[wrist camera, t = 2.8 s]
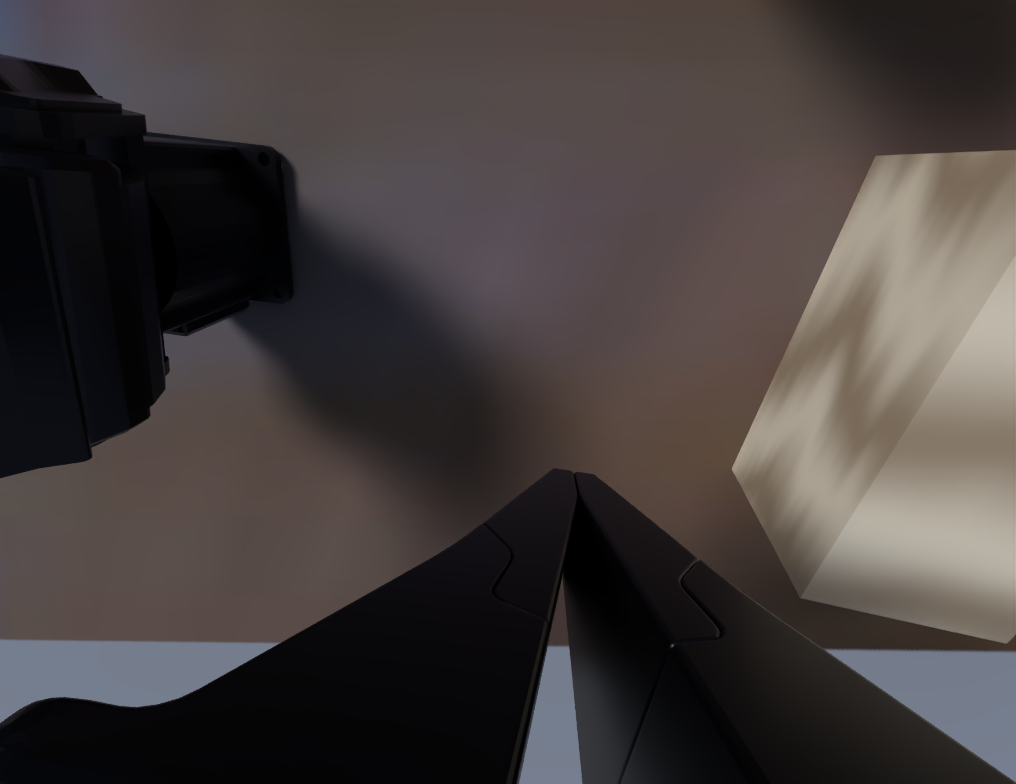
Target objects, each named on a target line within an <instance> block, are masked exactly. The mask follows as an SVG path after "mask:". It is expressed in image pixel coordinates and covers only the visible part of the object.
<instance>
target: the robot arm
mask: <svg viewBox="0 0 1016 784" xmlns="http://www.w3.org/2000/svg"><path fill="white" fill-rule="evenodd" d="M265 153H266V154H267V155H268V156H269V159H270V162H269V164H268V165H266V163H265V162H264V159H263V157H264V154H265ZM278 288H280V289H281V290H282V291H283V293H284V294H283V296H281V295H280V294H279V293H278ZM292 297H293V284H292V274H291V263H290V252H289V242H288V231H287V221H286V210H285V199H284V189H283V178H282V168H281V159H280V156H279V154H278V152H277V151H276V150H275V149H274V148H272V147H270V146H264V145H256V144H247V143H238V142H230V141H221V140H212V139H203V138H195V137H186V136H177V135H169V134H160V133H151V132H147V129H146V119H145V115H143V114H140V113H136V112H132V111H128V110H124V109H122V104H120V103H117V102H114V101H110V100H107V99H104V98H103V97H102V96H99V95H97V93H96V92H95V91H94V90H93V88H92V87H91V86H90V85H89V83H88V82H87V81H86V80H85V78H84V77H83V76H82V75H81V73H80V72H79V71H78V70H74V69H70V68H66V67H62V66H58V65H53V64H48V63H43V62H38V61H33V60H28V59H23V58H18V57H13V56H8V55H2V54H0V478H3V477H7V476H11V475H15V474H19V473H22V472H26V471H30V470H34V469H38V468H45V467H51V466H58V465H65V464H71V463H78V462H84V461H87V460H89V459H91V458H92V456H93V455H92V450H91V447H93V446H96V445H98V444H100V443H102V442H104V441H106V440H107V439H110V438H112V437H115V436H117V435H120V434H123V433H125V432H127V431H129V430H130V429H132V428H134V427H135V426H137V425H139V424H140V423H142V422H143V421H145V420H146V419H148V418H149V417H150V416H151V415H150V407H151V406H152V405H153V404H154V403H155V402H156V401H157V399H158V398H159V397H160V395H161V394H162V393H163V392H164V390H165V376H166V375H167V374H168V373H169V371H170V367H169V358H168V357H167V356H165V349H164V339H163V333H166V334H173V335H180V336H188V335H190V334H193V333H195V332H197V331H200V330H202V329H204V328H206V327H209V326H211V325H213V324H216V323H218V322H220V321H222V320H225V319H227V318H229V317H232V316H234V315H236V314H238V313H241V312H243V311H245V310H246V309H247V308H248V307H249V300H257V301H264V302H271V303H279V304H281V303H285V302H287V301H289V300H291V298H292ZM248 299H249V300H248ZM562 575H563V584H564V596H565V606H566V617H567V627H568V638H569V648H570V658H571V669H572V678H573V689H574V700H575V710H576V720H577V731H578V741H579V751H580V761H581V772H582V782H583V784H1016V782H1014V781H1013V780H1011V779H1010V778H1009V777H1007V776H1005V775H1004V774H1002V773H1001V772H1000V771H998V770H997V769H996V768H994V767H993V766H991V765H989V764H988V763H987V762H985V761H984V760H982V759H981V758H980V757H978V756H977V755H975V754H974V753H972V752H971V751H970V750H968V749H966V748H965V747H964V746H962V745H961V744H960V743H958V742H957V741H955V740H954V739H952V738H951V737H949V736H948V735H947V734H945V733H944V732H942V731H941V730H939V729H938V728H936V727H935V726H934V725H932V724H931V723H929V722H928V721H926V720H925V719H924V718H922V717H921V716H919V715H918V714H916V713H915V712H913V711H912V710H910V709H909V708H908V707H906V706H905V705H903V704H902V703H900V702H899V701H898V700H896V699H895V698H893V697H892V696H890V695H889V694H887V693H886V692H885V691H883V690H882V689H880V688H879V687H877V686H876V685H875V684H873V683H872V682H870V681H869V680H867V679H866V678H864V677H863V676H861V675H860V674H858V673H857V672H856V671H854V670H853V669H851V668H850V667H849V666H847V665H846V664H844V663H843V662H841V661H840V660H839V659H837V658H836V657H834V656H832V655H831V654H830V653H828V652H827V651H826V650H824V649H823V648H821V647H820V646H818V645H817V644H815V643H814V642H813V641H811V640H810V639H808V638H807V637H805V636H804V635H802V634H801V633H800V632H798V631H797V630H795V629H794V628H792V627H791V626H790V625H788V624H787V623H785V622H784V621H782V620H781V619H779V618H778V617H777V616H775V615H774V614H772V613H771V612H770V611H768V610H767V609H765V608H764V607H762V606H761V605H760V604H758V603H757V602H755V601H754V600H753V599H751V598H750V597H748V596H747V595H746V594H744V593H743V592H741V591H740V590H739V589H738V588H736V587H735V586H734V585H732V584H731V583H730V582H728V581H727V580H726V579H725V578H723V577H722V576H721V575H719V574H718V573H717V572H716V571H714V570H713V569H712V568H711V567H709V566H708V565H707V564H706V563H705V562H703V561H701V560H700V561H699V559H698V558H697V557H696V556H695V555H693V554H692V553H691V552H690V551H688V550H687V549H686V548H685V547H683V546H682V545H681V544H680V543H679V542H677V541H676V540H675V539H674V538H672V537H671V536H670V535H669V534H667V533H666V532H665V531H664V530H662V529H661V528H660V527H659V526H657V525H656V524H655V523H654V522H652V521H651V520H650V519H649V518H647V517H646V516H645V515H644V514H643V513H641V512H640V511H639V510H638V509H636V508H635V507H634V506H633V505H631V504H630V503H629V502H628V501H626V500H625V499H624V498H623V497H621V496H620V495H619V494H618V493H616V492H615V491H614V490H613V489H612V488H610V487H609V486H608V485H607V484H605V483H604V482H603V481H602V480H600V479H599V478H598V477H597V476H595V475H593V474H588V473H582V472H576V473H574V474H573V472H572V471H569V470H562V469H552V470H551V471H549V472H548V473H547V474H546V475H544V476H543V477H542V478H541V479H539V480H538V481H537V482H535V483H534V484H533V485H532V486H530V487H529V488H528V489H527V490H525V491H524V492H523V493H521V494H520V495H519V496H518V497H516V498H515V499H514V500H513V501H511V502H510V503H509V504H507V505H506V506H505V507H504V508H502V509H501V510H500V511H498V512H497V513H496V514H495V515H493V516H492V517H491V518H490V519H488V520H487V521H486V522H484V523H483V524H482V525H480V526H478V527H477V528H476V529H474V530H473V531H472V532H471V533H469V534H468V535H466V536H465V537H464V538H462V539H461V540H459V541H458V542H457V543H455V544H454V545H452V546H450V547H449V548H447V549H445V550H444V551H442V552H440V553H439V554H437V555H436V556H434V557H432V558H430V559H429V560H427V561H425V562H423V563H422V564H420V565H418V566H416V567H414V568H413V569H411V570H409V571H407V572H406V573H404V574H402V575H400V576H399V577H397V578H395V579H393V580H391V581H390V582H388V583H386V584H384V585H383V586H381V587H379V588H377V589H375V590H374V591H372V592H370V593H368V594H367V595H365V596H363V597H361V598H359V599H358V600H356V601H354V602H352V603H351V604H349V605H347V606H345V607H343V608H342V609H340V610H338V611H336V612H335V613H333V614H331V615H329V616H327V617H326V618H324V619H322V620H320V621H319V622H317V623H315V624H313V625H312V626H310V627H308V628H306V629H304V630H303V631H301V632H299V633H297V634H296V635H294V636H292V637H290V638H288V639H287V640H285V641H283V642H281V643H280V644H278V645H276V646H274V647H273V648H271V649H269V650H267V651H265V652H264V653H262V654H260V655H258V656H257V657H255V658H253V659H251V660H249V661H248V662H246V663H244V664H242V665H240V666H239V667H237V668H236V669H233V670H232V671H230V672H228V673H226V674H225V675H223V676H221V677H219V678H218V679H216V680H214V681H212V682H211V683H209V684H207V685H205V686H203V687H202V688H200V689H198V690H196V691H193V692H191V693H189V694H187V695H185V696H183V697H181V698H178V699H175V700H171V701H168V702H165V703H161V704H157V705H151V706H142V707H126V706H117V705H112V704H107V703H102V702H97V701H92V700H85V699H76V698H67V697H59V698H49V699H44V700H40V701H36V702H33V703H31V704H29V705H27V706H25V707H23V708H21V709H19V710H18V711H17V712H15V713H14V714H12V715H11V716H9V717H8V718H7V719H5V720H4V721H3V722H1V723H0V784H519V781H520V776H521V771H522V766H523V762H524V757H525V752H526V747H527V742H528V738H529V733H530V728H531V723H532V718H533V713H534V709H535V704H536V699H537V695H538V689H539V685H540V680H541V675H542V671H543V666H544V661H545V656H546V652H547V647H548V642H549V637H550V632H551V628H552V623H553V618H554V613H555V609H556V604H557V599H558V594H559V589H560V585H561V580H562Z"/></svg>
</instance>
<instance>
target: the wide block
mask: <svg viewBox="0 0 1016 784" xmlns="http://www.w3.org/2000/svg"><path fill="white" fill-rule="evenodd" d="M732 470H733V472H734V474H735V476H736V478H737V480H738V482H739V483H740V485H741V487H742V489H743V491H744V493H745V495H746V497H747V499H748V500H749V502H750V504H751V506H752V508H753V510H754V512H755V514H756V516H757V517H758V519H759V521H760V523H761V525H762V527H763V529H764V531H765V533H766V534H767V536H768V538H769V540H770V542H771V544H772V546H773V548H774V550H775V551H776V553H777V555H778V557H779V559H780V561H781V563H782V565H783V567H784V569H785V570H786V572H787V574H788V576H789V578H790V580H791V582H792V584H793V586H794V587H795V589H796V591H797V593H798V595H799V597H800V598H802V599H806V600H811V601H816V602H820V603H825V604H829V605H834V606H838V607H843V608H847V609H852V610H856V611H861V612H865V613H870V614H874V615H879V616H883V617H888V618H893V619H897V620H902V621H906V622H911V623H915V624H920V625H924V626H929V627H933V628H938V629H942V630H947V631H951V632H956V633H960V634H965V635H969V636H974V637H979V638H983V639H988V640H992V641H997V642H1001V643H1006V644H1007V643H1008V642H1009V641H1010V640H1011V639H1012V638H1013V637H1014V636H1015V635H1016V150H1006V151H980V152H955V153H930V154H905V155H880V156H875V159H874V161H873V163H872V165H871V167H870V169H869V172H868V174H867V176H866V178H865V180H864V182H863V185H862V187H861V189H860V191H859V193H858V195H857V198H856V200H855V202H854V204H853V206H852V209H851V211H850V213H849V215H848V217H847V219H846V222H845V224H844V226H843V228H842V230H841V232H840V235H839V237H838V239H837V241H836V243H835V246H834V248H833V250H832V252H831V254H830V256H829V259H828V261H827V263H826V265H825V267H824V269H823V272H822V274H821V276H820V278H819V280H818V282H817V285H816V287H815V289H814V291H813V293H812V296H811V298H810V300H809V302H808V304H807V306H806V309H805V311H804V313H803V315H802V317H801V319H800V322H799V324H798V326H797V328H796V330H795V332H794V335H793V337H792V339H791V341H790V343H789V346H788V348H787V350H786V352H785V354H784V356H783V359H782V361H781V363H780V365H779V367H778V369H777V372H776V374H775V376H774V378H773V380H772V383H771V385H770V387H769V389H768V391H767V393H766V396H765V398H764V400H763V402H762V404H761V406H760V409H759V411H758V413H757V415H756V417H755V419H754V422H753V424H752V426H751V428H750V430H749V433H748V435H747V437H746V439H745V441H744V443H743V446H742V448H741V450H740V452H739V454H738V456H737V459H736V461H735V463H734V465H733V467H732Z"/></svg>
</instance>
